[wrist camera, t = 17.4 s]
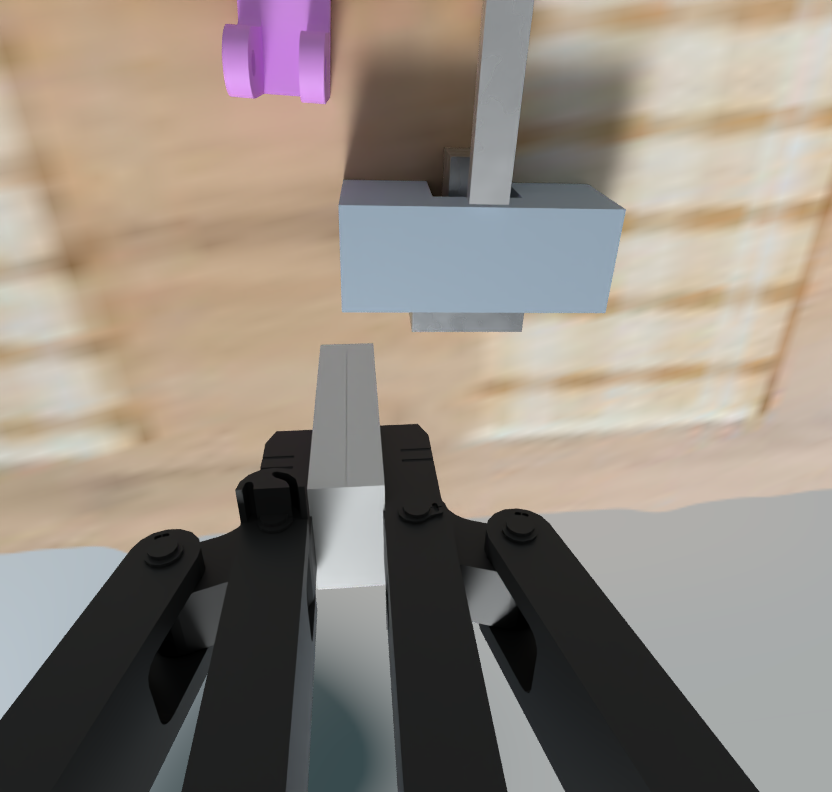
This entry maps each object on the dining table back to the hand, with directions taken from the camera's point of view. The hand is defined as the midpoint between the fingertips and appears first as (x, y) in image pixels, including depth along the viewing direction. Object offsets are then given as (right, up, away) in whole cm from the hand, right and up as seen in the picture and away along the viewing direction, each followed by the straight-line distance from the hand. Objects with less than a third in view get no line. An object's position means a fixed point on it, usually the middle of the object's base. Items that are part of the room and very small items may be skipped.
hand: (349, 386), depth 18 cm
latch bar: (+6, +18, +16) cm, 25 cm away
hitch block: (+6, +12, +28) cm, 31 cm away
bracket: (-6, +26, +20) cm, 33 cm away
